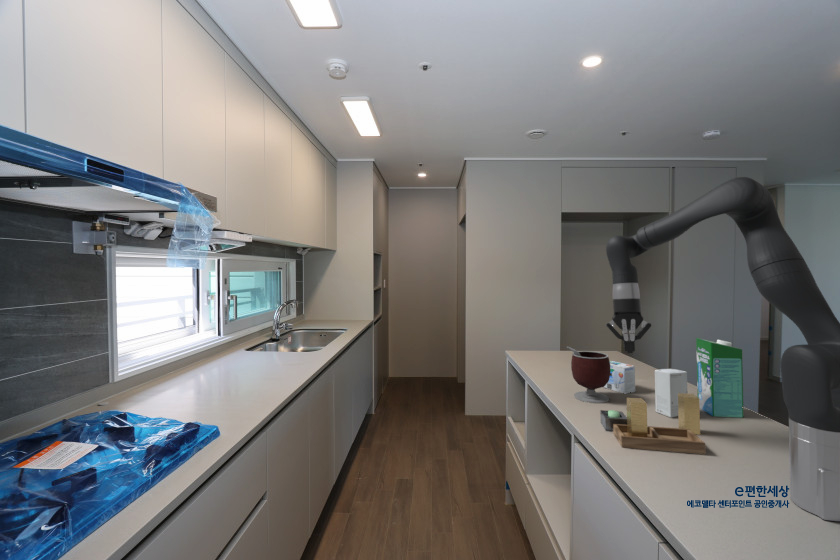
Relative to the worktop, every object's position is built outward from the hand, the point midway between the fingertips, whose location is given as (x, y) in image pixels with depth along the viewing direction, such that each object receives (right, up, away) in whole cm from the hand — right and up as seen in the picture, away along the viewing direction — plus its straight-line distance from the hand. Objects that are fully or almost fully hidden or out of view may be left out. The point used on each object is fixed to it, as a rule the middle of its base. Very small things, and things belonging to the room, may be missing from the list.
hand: (629, 353), depth 112 cm
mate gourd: (+1, -24, +29) cm, 37 cm away
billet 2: (+16, -23, -3) cm, 29 cm away
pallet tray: (+1, -24, -10) cm, 26 cm away
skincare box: (+21, -23, +11) cm, 33 cm away
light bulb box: (+18, -23, +38) cm, 48 cm away
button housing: (-4, -24, +1) cm, 24 cm away
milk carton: (+37, -23, +11) cm, 45 cm away
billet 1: (-3, -24, -9) cm, 26 cm away
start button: (-4, -23, +1) cm, 23 cm away
